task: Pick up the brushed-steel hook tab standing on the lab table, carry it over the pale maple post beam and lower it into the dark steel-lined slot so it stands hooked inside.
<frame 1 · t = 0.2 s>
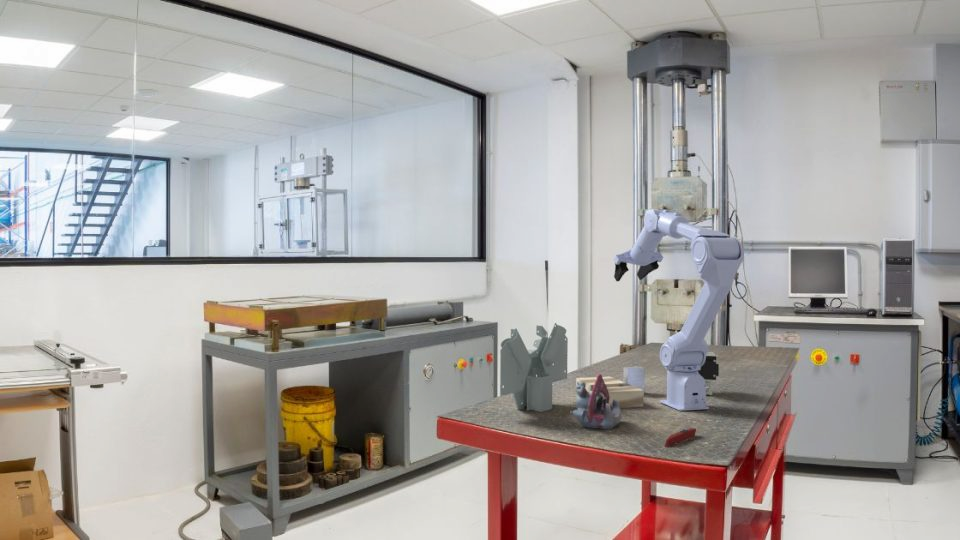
hand: (627, 278, 177), 31 cm above the table, tool tilted 45°, fingers open, 7 cm apart
utility knife: (680, 442, 122), on the table
headboard post: (608, 399, 157), on the table
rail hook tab: (633, 393, 165), on the table
pneumatic valve: (706, 394, 164), on the table
bracket: (535, 408, 148), on the table
grey red figurine: (596, 425, 134), on the table
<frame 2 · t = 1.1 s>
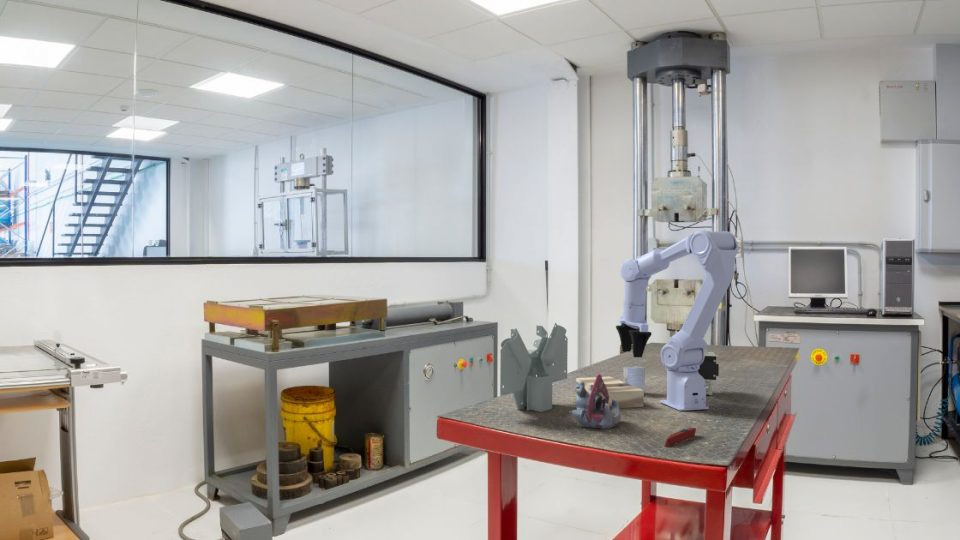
hand: (631, 354, 166), 10 cm above the table, tool pointing down, fingers open, 7 cm apart
nothing on the table moved.
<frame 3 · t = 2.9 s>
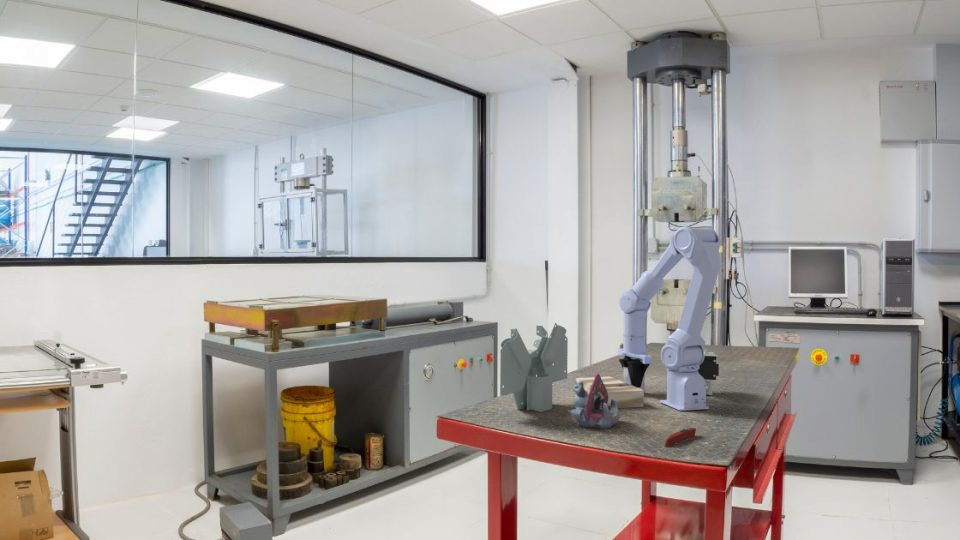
hand: (633, 386, 165), 2 cm above the table, tool pointing down, fingers closed on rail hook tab, 2 cm apart
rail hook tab: (633, 393, 165), on the table, touching gripper
when the fingers open (5 cm above the table, at t = 6.6 s): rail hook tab drops 1 cm, resting in headboard post.
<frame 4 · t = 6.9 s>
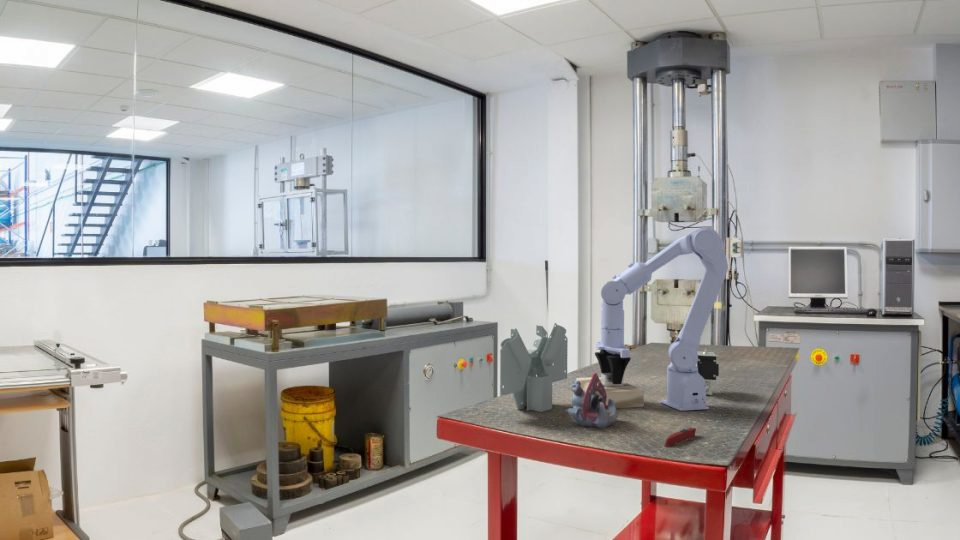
hand: (611, 381, 155), 5 cm above the table, tool pointing down, fingers open, 5 cm apart
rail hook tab: (612, 401, 155), resting in headboard post
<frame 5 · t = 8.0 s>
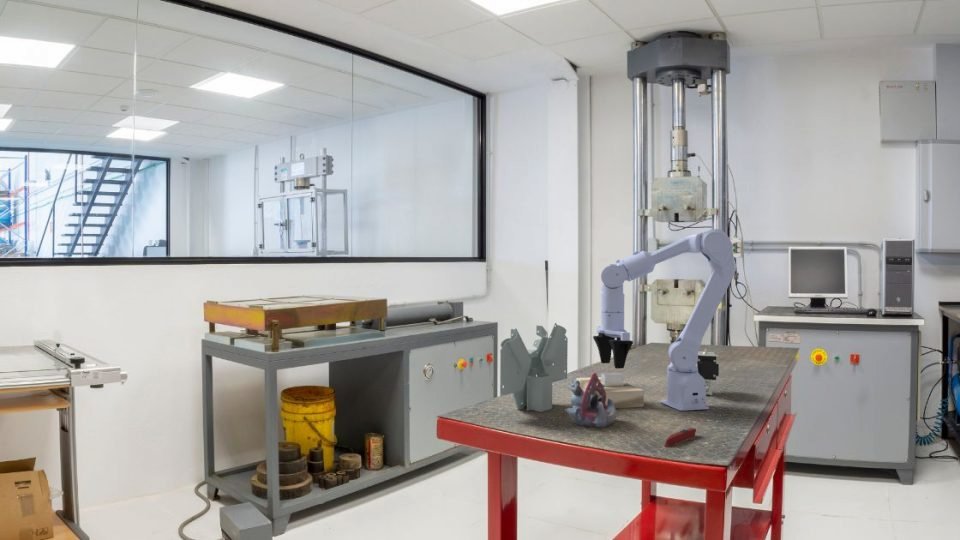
hand: (612, 365, 155), 9 cm above the table, tool pointing down, fingers open, 7 cm apart
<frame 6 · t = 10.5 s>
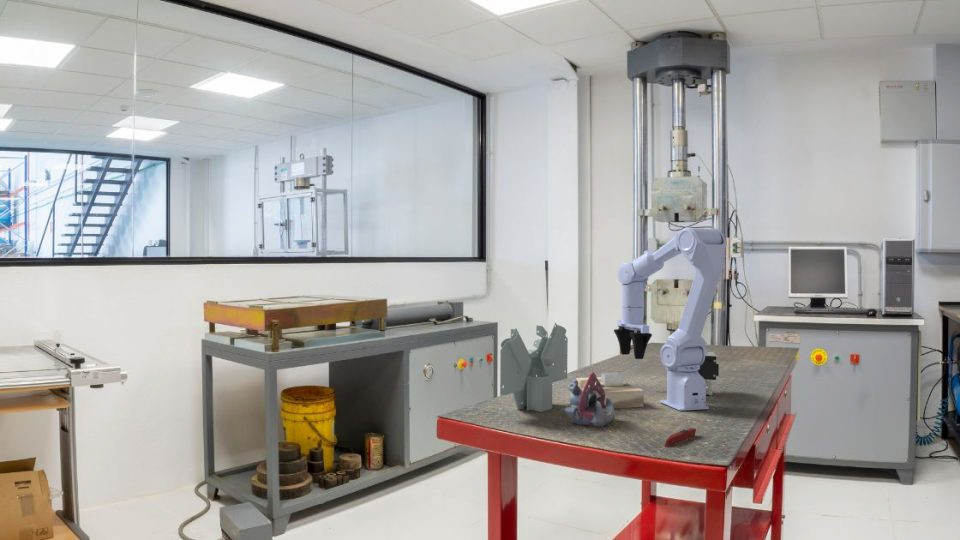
hand: (632, 356, 168), 9 cm above the table, tool pointing down, fingers open, 7 cm apart
at the end: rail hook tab 0.1 cm from the target spot on the headboard post, point 0.0 cm above the headboard post's base; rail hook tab tilted 0°; the gripper is holding nothing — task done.
